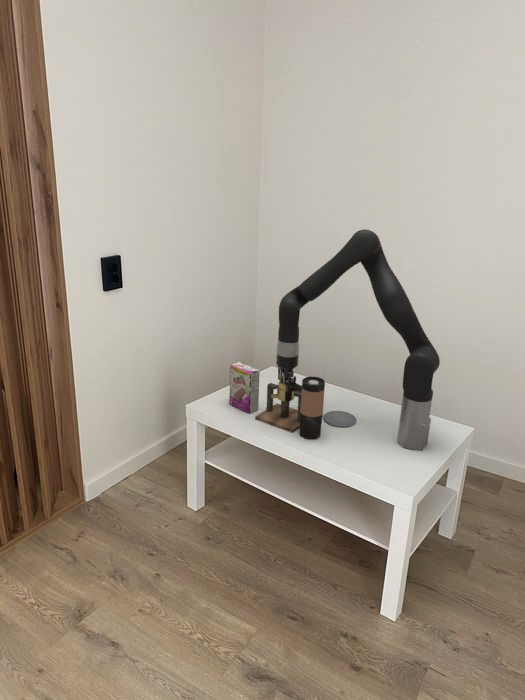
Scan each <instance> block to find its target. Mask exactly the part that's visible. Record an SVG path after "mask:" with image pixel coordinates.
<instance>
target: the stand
mask: <svg viewBox="0 0 525 700" xmlns="http://www.w3.org/2000/svg"><path fill="white" fill-rule="evenodd" d="M277 387H278V384H276V383H273V382H269V383H267V386H266V389H267V391H266V409H265V410H263V411H262V412H260V413H258V414H256V415H255V417H254V419H255V420H256V421H259V422H261V423H263V424H264V423H265V424H267V425H270V426H271V427H275V428H279V429H281V430H284V431H286V432H289V433H295V432H296V431H298V430H300V406H301V392H299V391H296V392H295V393H294V396H295V397H297V398H298V401H297V409H295V408H293V407H290V403H291V401H281V400H280V403H274V398H271V394H274V390H276V389H277Z"/></svg>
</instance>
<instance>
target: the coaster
mask: <svg viewBox="0 0 525 700" xmlns="http://www.w3.org/2000/svg"><path fill="white" fill-rule="evenodd" d="M322 421H323V423H325V424H327V425H328V426H331V427H335V428H343V429H344V428H350V427H351V428H352V427H353V426H355V424H356V423H357V417H356V416H355V415H354V414H352V413H349V412H346V411H343V410H332V411H331V410H330V411H327V412H325V413H323V416H322Z"/></svg>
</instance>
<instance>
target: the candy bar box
mask: <svg viewBox="0 0 525 700" xmlns="http://www.w3.org/2000/svg"><path fill="white" fill-rule="evenodd" d="M259 394H260V369H257V368H255V367H253V366H249V365H248V364H245V363H244V362H240V361H236V362H235V363H231V364H230V365H229V403H228V404H229V405H231V406H233V407H235V408H236V409H238V410H241V411H243V412H245V413H247V414H249V415H251V414H254V413H255V412H257V411H259V403H260V402H259V401H260V400H259V399H260V398H259V396H260V395H259Z"/></svg>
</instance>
